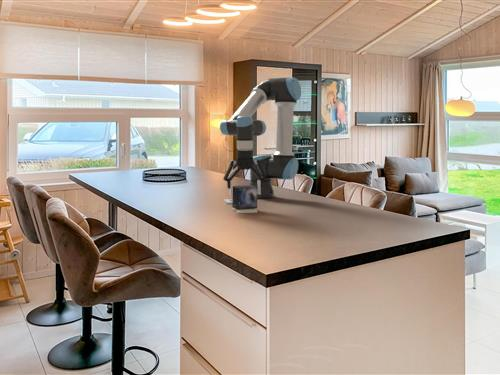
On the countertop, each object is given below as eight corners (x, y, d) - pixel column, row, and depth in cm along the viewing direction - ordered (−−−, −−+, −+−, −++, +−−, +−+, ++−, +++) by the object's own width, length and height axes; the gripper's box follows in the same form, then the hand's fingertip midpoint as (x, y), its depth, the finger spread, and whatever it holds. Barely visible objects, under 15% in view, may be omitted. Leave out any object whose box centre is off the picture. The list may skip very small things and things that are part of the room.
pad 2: (249, 207, 232) (249, 205, 232) (257, 212, 219) (257, 210, 219) (231, 207, 230) (231, 206, 230) (238, 213, 216) (238, 211, 216)
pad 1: (239, 200, 252) (239, 198, 252) (244, 203, 243) (244, 201, 242) (223, 201, 250) (223, 199, 250) (227, 204, 240) (227, 202, 240)
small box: (237, 210, 219) (237, 187, 218) (231, 207, 225) (231, 185, 223) (258, 208, 224) (258, 186, 222) (251, 206, 229) (252, 184, 228)
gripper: (268, 148, 227) (268, 192, 230) (216, 149, 221) (217, 194, 224) (273, 149, 220) (272, 194, 223) (219, 150, 214) (220, 197, 217)
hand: (245, 194), depth 224 cm, fingers open, 13 cm apart
